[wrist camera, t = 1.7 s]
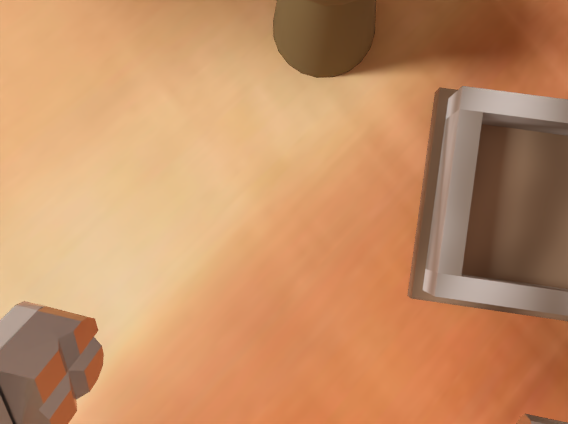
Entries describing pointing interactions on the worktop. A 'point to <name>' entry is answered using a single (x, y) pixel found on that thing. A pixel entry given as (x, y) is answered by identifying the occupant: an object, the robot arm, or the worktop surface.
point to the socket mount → (495, 204)
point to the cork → (324, 34)
